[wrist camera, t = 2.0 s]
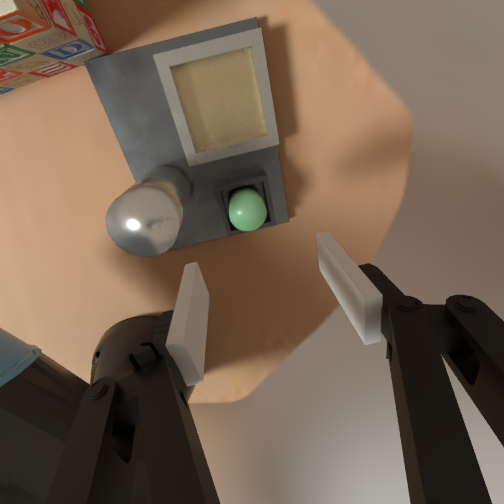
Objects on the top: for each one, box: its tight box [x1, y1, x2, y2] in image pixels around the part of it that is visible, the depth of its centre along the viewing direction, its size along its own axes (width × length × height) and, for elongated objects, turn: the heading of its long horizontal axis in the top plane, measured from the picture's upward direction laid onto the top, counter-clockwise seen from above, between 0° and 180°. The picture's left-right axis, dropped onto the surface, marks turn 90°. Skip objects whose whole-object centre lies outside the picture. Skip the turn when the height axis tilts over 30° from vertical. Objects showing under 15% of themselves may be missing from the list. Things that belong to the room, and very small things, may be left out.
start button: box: [229, 187, 267, 231], centre depth 27 cm, size 4×4×3 cm
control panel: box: [84, 17, 290, 251], centre depth 26 cm, size 15×19×4 cm
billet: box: [106, 166, 192, 257], centre depth 24 cm, size 5×5×10 cm
